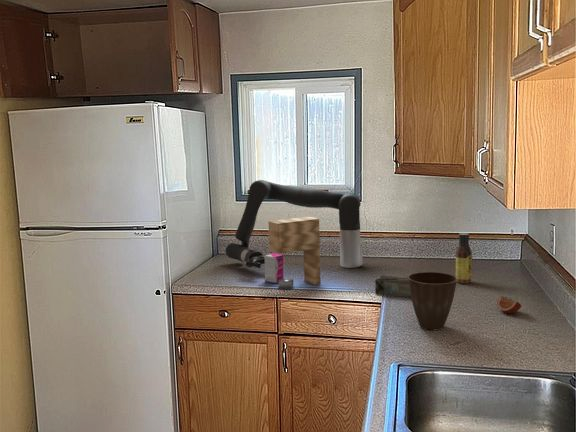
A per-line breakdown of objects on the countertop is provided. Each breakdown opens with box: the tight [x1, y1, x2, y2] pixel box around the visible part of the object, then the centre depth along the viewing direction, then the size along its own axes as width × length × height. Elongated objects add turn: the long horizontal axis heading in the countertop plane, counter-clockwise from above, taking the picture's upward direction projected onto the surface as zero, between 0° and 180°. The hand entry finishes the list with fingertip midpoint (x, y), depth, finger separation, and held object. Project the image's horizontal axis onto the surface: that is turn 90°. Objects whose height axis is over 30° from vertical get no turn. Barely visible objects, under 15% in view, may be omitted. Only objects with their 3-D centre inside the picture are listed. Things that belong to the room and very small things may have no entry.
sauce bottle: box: [455, 232, 473, 285], centre depth 237 cm, size 7×6×20 cm
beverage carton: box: [374, 275, 411, 298], centre depth 224 cm, size 8×19×7 cm, turn 65°
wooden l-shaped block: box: [267, 216, 321, 285], centre depth 239 cm, size 19×8×27 cm, turn 120°
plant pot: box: [407, 271, 457, 331], centre depth 187 cm, size 15×15×16 cm
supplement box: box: [264, 252, 284, 285], centre depth 247 cm, size 6×6×12 cm
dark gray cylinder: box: [278, 277, 294, 290], centre depth 239 cm, size 6×6×3 cm
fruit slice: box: [496, 295, 522, 314], centre depth 199 cm, size 8×7×5 cm
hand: (268, 264), depth 251 cm, fingers open, 8 cm apart
